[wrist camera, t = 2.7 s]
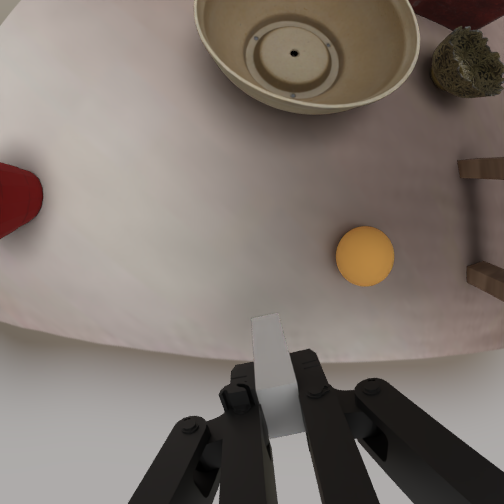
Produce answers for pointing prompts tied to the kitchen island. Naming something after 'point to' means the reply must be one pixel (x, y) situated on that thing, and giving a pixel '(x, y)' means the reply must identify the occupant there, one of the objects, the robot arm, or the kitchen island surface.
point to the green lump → (467, 65)
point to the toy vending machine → (459, 12)
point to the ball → (365, 256)
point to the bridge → (483, 273)
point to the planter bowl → (311, 49)
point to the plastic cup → (18, 198)
